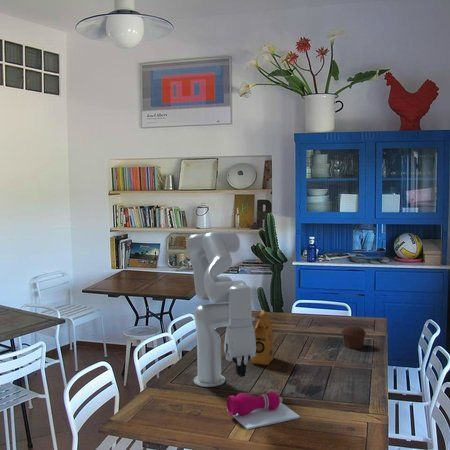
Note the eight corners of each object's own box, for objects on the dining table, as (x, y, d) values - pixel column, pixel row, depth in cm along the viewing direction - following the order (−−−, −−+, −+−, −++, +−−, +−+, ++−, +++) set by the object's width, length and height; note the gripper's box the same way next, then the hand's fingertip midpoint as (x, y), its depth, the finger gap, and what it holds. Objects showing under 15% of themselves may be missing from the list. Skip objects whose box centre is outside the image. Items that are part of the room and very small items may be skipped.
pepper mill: (229, 420, 178) (282, 414, 185) (235, 410, 173) (289, 404, 181) (224, 401, 183) (275, 395, 190) (230, 390, 178) (282, 385, 186)
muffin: (363, 342, 261) (364, 323, 260) (367, 349, 250) (367, 329, 249) (339, 342, 262) (339, 322, 261) (342, 349, 251) (342, 329, 250)
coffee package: (247, 364, 232) (247, 315, 231) (254, 355, 244) (254, 308, 242) (269, 366, 229) (269, 316, 228) (275, 357, 241) (275, 310, 239)
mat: (226, 410, 185) (226, 408, 185) (276, 400, 193) (276, 398, 193) (247, 429, 170) (247, 427, 170) (299, 417, 178) (299, 416, 178)
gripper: (255, 317, 182) (255, 368, 184) (215, 322, 176) (216, 375, 177) (265, 322, 175) (265, 375, 177) (224, 327, 169) (225, 382, 171)
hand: (240, 375), depth 177 cm, fingers closed
